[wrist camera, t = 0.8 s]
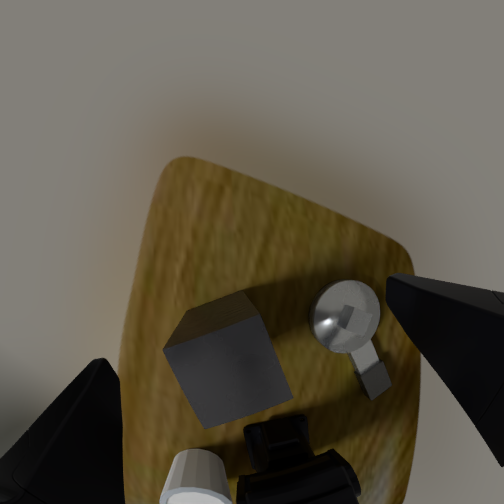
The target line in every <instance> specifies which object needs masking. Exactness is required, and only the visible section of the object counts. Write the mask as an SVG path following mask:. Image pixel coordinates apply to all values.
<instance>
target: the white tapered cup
mask: <svg viewBox="0 0 504 504" xmlns="http://www.w3.org/2000/svg"><path fill="white" fill-rule="evenodd" d="M160 504H233V503H232V499H231V495H230V490H229V486H228V482H227V477H226V473H225V468H224V464H223V461H222V460H221V459H220V458H219V457H218V455H216V454H214V453H212V452H210V451H207V450H202V449H187V450H184V451H182V452H179V453H178V454H177V455H176V456H175V458H174V461H173V463H172V466H171V469H170V472H169V474H168V477H167V480H166V483H165V486H164V488H163V491H162V494H161V497H160Z"/></svg>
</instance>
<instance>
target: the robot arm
mask: <svg viewBox="0 0 504 504" xmlns="http://www.w3.org/2000/svg"><path fill="white" fill-rule="evenodd" d="M385 298H386V303H387V305H388V307H389V308H390V310H391V311H392V313H393V314H394V316H395V317H396V319H397V320H398V322H399V323H400V325H401V326H402V328H403V329H404V331H405V332H406V334H407V335H408V337H409V338H410V339H411V341H412V342H413V343H414V345H415V346H416V347H417V348H418V350H419V351H420V352H421V353H422V354H423V356H424V357H425V358H426V360H427V361H428V362H429V363H430V365H431V366H432V367H433V369H434V370H435V371H436V372H437V373H438V375H439V376H440V378H441V379H442V380H443V382H444V383H445V384H446V386H447V387H448V388H449V390H450V391H451V393H452V394H453V395H454V397H455V398H456V399H457V401H458V402H459V404H460V405H461V406H462V408H463V409H464V411H465V412H466V413H467V415H468V416H469V418H470V419H471V421H472V422H473V424H474V425H475V427H476V428H477V430H478V431H479V433H480V434H481V436H482V437H483V439H484V441H485V442H486V444H487V445H488V447H489V448H490V450H491V452H492V453H493V455H494V456H495V458H496V460H497V461H498V463H499V464H500V466H501V467H503V466H504V293H503V292H497V291H490V290H487V289H481V288H476V287H471V286H466V285H460V284H455V283H450V282H445V281H439V280H434V279H429V278H423V277H418V276H413V275H408V274H402V273H396V274H393V275H391V276H389V277H388V278H387V281H386V297H385ZM302 418H304V419H303V420H300V419H302ZM247 430H250V431H247ZM243 432H244V436H245V440H246V445H247V449H248V453H249V457H250V461H251V465H252V468H253V469H255V470H256V472H257V473H254V474H250V475H240V476H239V481H238V482H237V495H236V503H237V504H359V503H358V500H357V497H359V496H360V495H361V488H360V484H359V481H358V478H357V476H356V474H355V472H354V470H353V468H352V467H351V465H350V464H349V463H348V462H347V461H346V460H345V459H344V458H343V457H342V456H341V455H340V454H339V453H337V452H336V451H335V450H334V449H330V450H328V451H327V452H325V453H322V454H320V455H317V456H315V454H314V453H313V451H312V449H311V447H310V445H309V434H308V422H307V417H306V416H305V415H304V414H301V415H297V416H293V417H289V418H282V419H278V420H273V421H268V422H264V423H260V424H255V425H249V426H245V427H244V429H243ZM122 437H123V424H122V410H121V394H120V381H119V378H118V376H117V374H116V373H115V371H114V370H113V368H112V367H111V365H110V364H109V362H108V361H107V360H106V359H105V358H99V359H94V360H92V361H91V362H90V363H89V364H88V365H87V366H86V368H84V370H83V371H81V373H80V374H79V375H78V376H77V377H76V378H75V379H74V380H73V381H72V382H71V383H70V384H69V385H68V386H67V387H66V388H65V389H64V390H63V391H62V393H61V394H60V395H59V396H58V397H57V398H56V399H55V400H54V401H53V402H52V403H51V404H50V405H49V406H48V407H47V409H46V410H45V411H44V412H43V413H42V414H41V415H40V416H39V418H37V420H36V421H35V422H34V423H33V424H32V425H31V426H30V427H29V430H27V431H26V432H25V433H24V434H23V435H22V436H21V438H19V440H18V441H17V442H16V443H15V444H14V445H13V446H12V447H11V448H10V449H9V450H8V451H7V452H6V453H5V454H4V455H3V456H2V457H1V458H0V504H125V496H124V481H123V448H122Z"/></svg>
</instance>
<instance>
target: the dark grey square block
mask: <svg viewBox="0 0 504 504" xmlns="http://www.w3.org/2000/svg"><path fill="white" fill-rule="evenodd" d="M163 352H164V354H165V356H166V358H167V360H168V362H169V364H170V366H171V368H172V370H173V372H174V374H175V376H176V378H177V380H178V382H179V384H180V386H181V388H182V390H183V392H184V394H185V395H186V397H187V399H188V401H189V403H190V405H191V406H192V408H193V410H194V412H195V414H196V415H197V417H198V419H199V420H200V422H201V424H202V426H203V427H204V429H207V428H211V427H214V426H217V425H221V424H224V423H227V422H230V421H233V420H237V419H240V418H243V417H245V416H248V415H251V414H254V413H257V412H259V411H262V410H265V409H268V408H270V407H273V406H275V405H278V404H280V403H283V402H285V401H288V400H290V399H292V398H293V396H292V393H291V391H290V388H289V386H288V383H287V381H286V378H285V376H284V373H283V371H282V368H281V366H280V363H279V361H278V358H277V356H276V353H275V351H274V348H273V346H272V343H271V340H270V338H269V335H268V333H267V330H266V328H265V325H264V323H263V320H262V318H261V315H260V313H259V312H258V311H257V309H256V308H255V307H254V305H253V304H252V303H251V301H250V300H249V299H248V297H247V296H246V295H245V293H244V292H243V290H240V291H238V292H235V293H233V294H230V295H227V296H225V297H222V298H220V299H217V300H214V301H212V302H209V303H206V304H204V305H201V306H198V307H196V308H193V309H190V310H187V311H186V313H185V314H184V316H183V318H182V319H181V321H180V322H179V324H178V326H177V327H176V329H175V330H174V332H173V334H172V335H171V337H170V338H169V340H168V342H167V343H166V345H165V346H164V348H163Z"/></svg>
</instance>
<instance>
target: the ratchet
mask: <svg viewBox="0 0 504 504" xmlns="http://www.w3.org/2000/svg"><path fill="white" fill-rule="evenodd" d="M379 319H380V305H379V301H378V298H377V296H376V294H375V293H374V291H373V290H372V289H371V288H370V287H369V286H367V285H366V284H364V283H362V282H359V281H354V280H346V279H342V280H336V281H333V282H331V283H329V284H327V285H326V286H325V287H323V288H322V289H321V290H320V291H319V292H318V294H317V295H316V296H315V298H314V300H313V302H312V304H311V307H310V311H309V325H310V329H311V331H312V334H313V335H314V337H315V338H316V339H317V341H319V342H320V343H321V344H322V345H323V346H325V347H326V348H327V349H329V350H331V351H333V352H337V353H347V354H348V356H349V358H350V360H351V362H352V364H353V366H354V368H355V371H354V373H355V375H356V377H357V379H358V382H359V384H360V386H361V388H362V390H363V392H364V395H365V396H367V397H368V398H369V399H370V400H371V401H372V400H373V399H374V398H376V397H377V396H379V395H380V394H381V393H383V392H384V391H385V390H387V389H388V388H389V387H390V386H392V383H391V381H390V378H389V375H388V373H387V370H386V368H385V365H384V362H383V361H382V360H380V359H379V358H378V356H377V354H376V351H375V349H374V347H373V344H372V342H371V338H372V336H373V335H374V333H375V331H376V329H377V326H378V323H379Z"/></svg>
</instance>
